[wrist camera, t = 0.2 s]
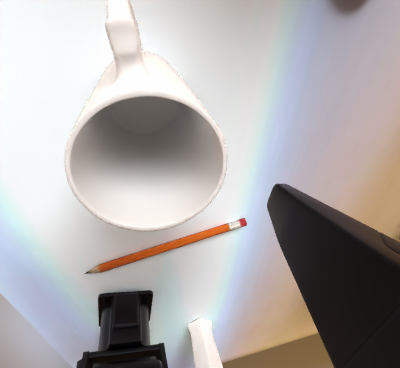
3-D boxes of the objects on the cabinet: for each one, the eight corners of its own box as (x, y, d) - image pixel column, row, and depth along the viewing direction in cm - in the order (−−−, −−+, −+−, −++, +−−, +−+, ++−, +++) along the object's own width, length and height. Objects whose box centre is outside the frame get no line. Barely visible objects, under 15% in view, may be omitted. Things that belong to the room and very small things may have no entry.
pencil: (244, 221, 31) (247, 227, 31) (86, 272, 31) (85, 279, 30) (243, 216, 31) (246, 221, 30) (83, 268, 30) (81, 274, 30)
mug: (189, 128, 24) (229, 216, 14) (110, 140, 23) (94, 243, 13) (173, -15, 18) (221, -36, 8) (68, -5, 17) (-18, -15, 7)
